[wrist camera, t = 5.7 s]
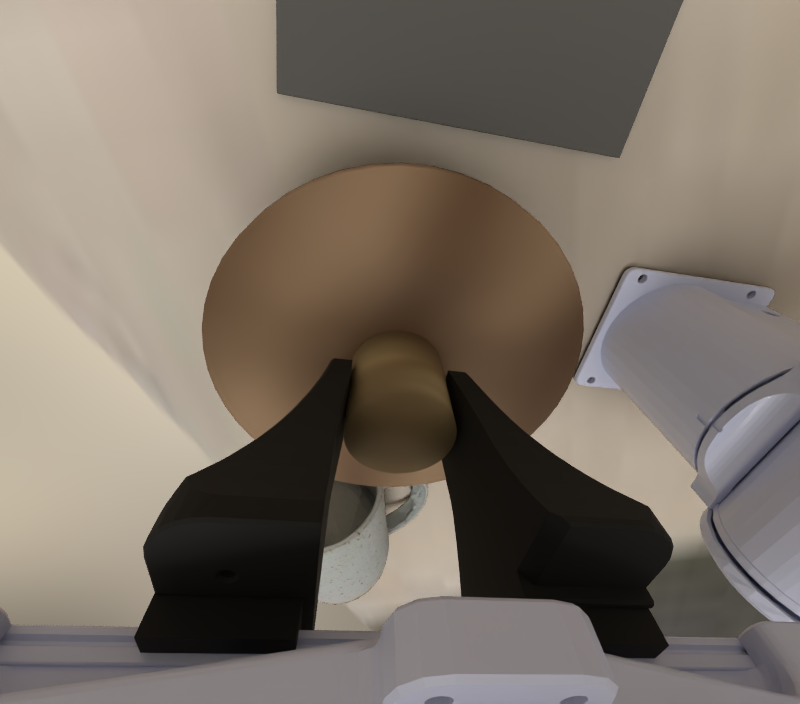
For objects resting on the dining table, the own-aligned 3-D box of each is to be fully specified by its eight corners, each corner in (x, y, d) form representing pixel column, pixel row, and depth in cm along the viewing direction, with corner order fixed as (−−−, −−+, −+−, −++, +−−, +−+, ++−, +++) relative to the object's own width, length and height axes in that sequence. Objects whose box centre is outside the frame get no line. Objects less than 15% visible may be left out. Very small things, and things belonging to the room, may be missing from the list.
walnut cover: (643, 204, 11) (752, 247, 8) (506, 481, 18) (534, 565, 15) (186, 121, 10) (86, 133, 6) (227, 460, 17) (189, 550, 13)
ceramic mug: (304, 523, 32) (287, 627, 25) (276, 455, 28) (248, 558, 21) (428, 507, 32) (444, 606, 25) (420, 436, 28) (436, 533, 21)
